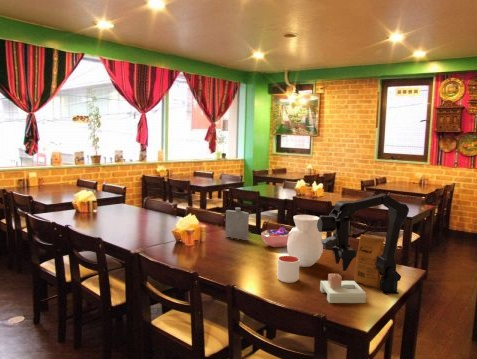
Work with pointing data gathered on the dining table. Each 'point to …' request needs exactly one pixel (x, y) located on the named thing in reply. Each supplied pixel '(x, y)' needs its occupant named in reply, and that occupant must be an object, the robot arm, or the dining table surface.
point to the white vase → (305, 240)
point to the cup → (288, 269)
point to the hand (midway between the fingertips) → (340, 267)
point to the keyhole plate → (343, 292)
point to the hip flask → (237, 224)
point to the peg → (334, 280)
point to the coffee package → (368, 261)
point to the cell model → (276, 237)
